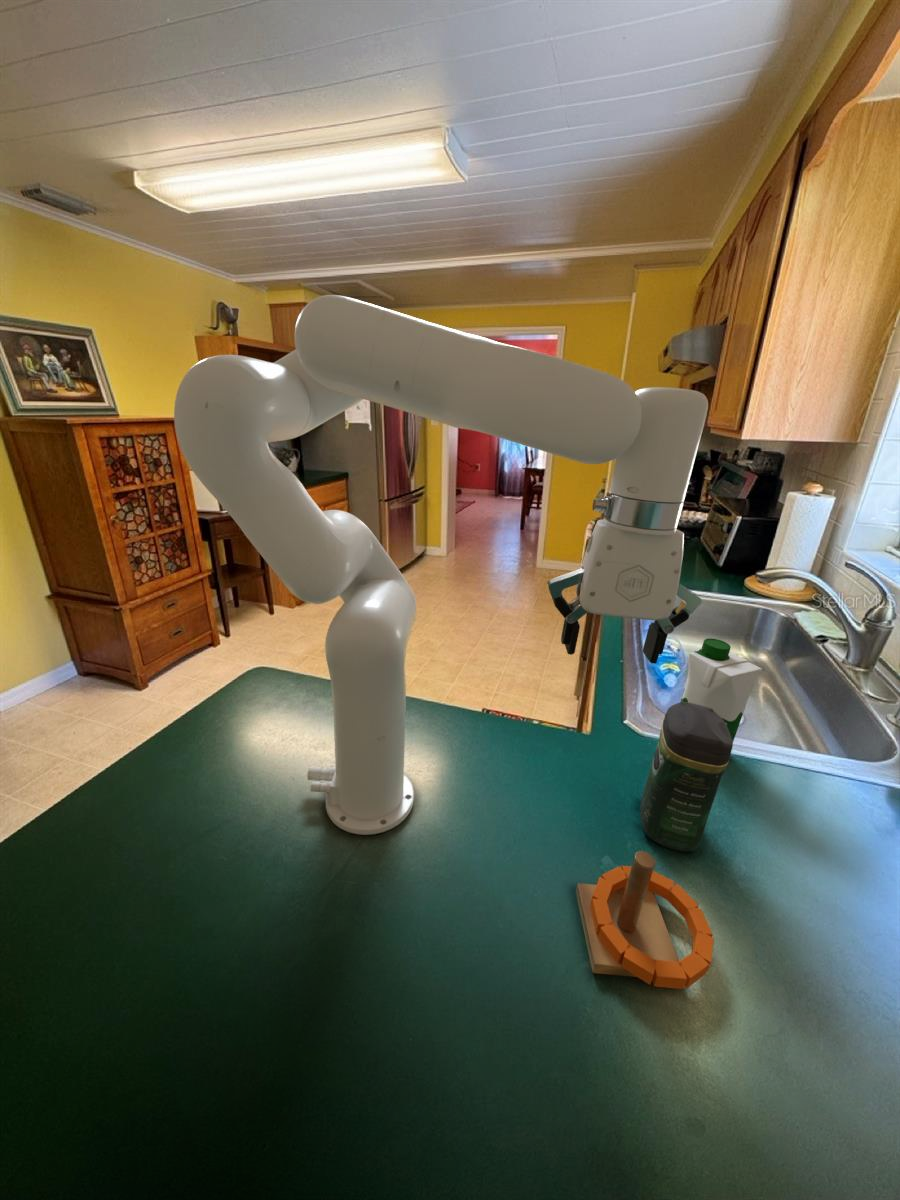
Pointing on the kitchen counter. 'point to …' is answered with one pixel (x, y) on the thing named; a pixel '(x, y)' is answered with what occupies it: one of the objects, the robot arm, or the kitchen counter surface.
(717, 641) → the milk carton
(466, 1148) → the kitchen counter surface
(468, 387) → the robot arm
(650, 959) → the orange segmented ring
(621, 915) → the stand
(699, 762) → the coffee jar
